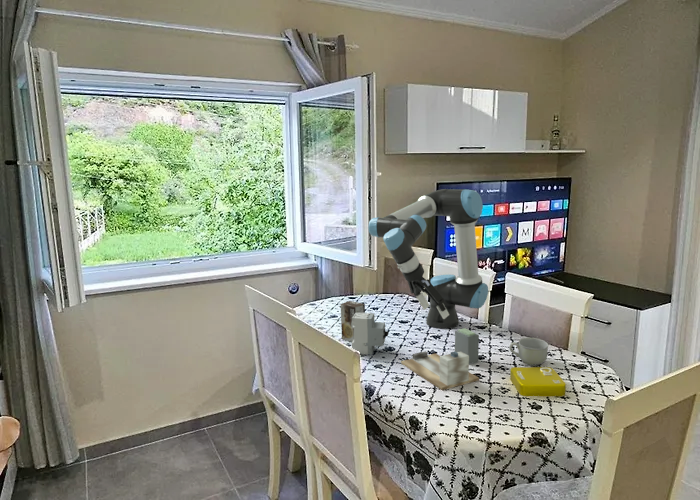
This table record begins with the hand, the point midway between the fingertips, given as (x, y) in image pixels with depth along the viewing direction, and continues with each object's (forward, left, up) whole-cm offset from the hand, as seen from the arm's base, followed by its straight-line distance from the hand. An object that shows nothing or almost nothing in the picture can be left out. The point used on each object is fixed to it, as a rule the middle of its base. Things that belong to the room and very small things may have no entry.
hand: (436, 312), depth 192 cm
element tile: (-18, +33, -21) cm, 43 cm away
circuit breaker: (+16, -22, -20) cm, 34 cm away
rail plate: (+4, +8, -20) cm, 22 cm away
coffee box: (+16, -38, -20) cm, 46 cm away
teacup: (-31, +17, -20) cm, 40 cm away
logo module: (-12, +4, -20) cm, 24 cm away
